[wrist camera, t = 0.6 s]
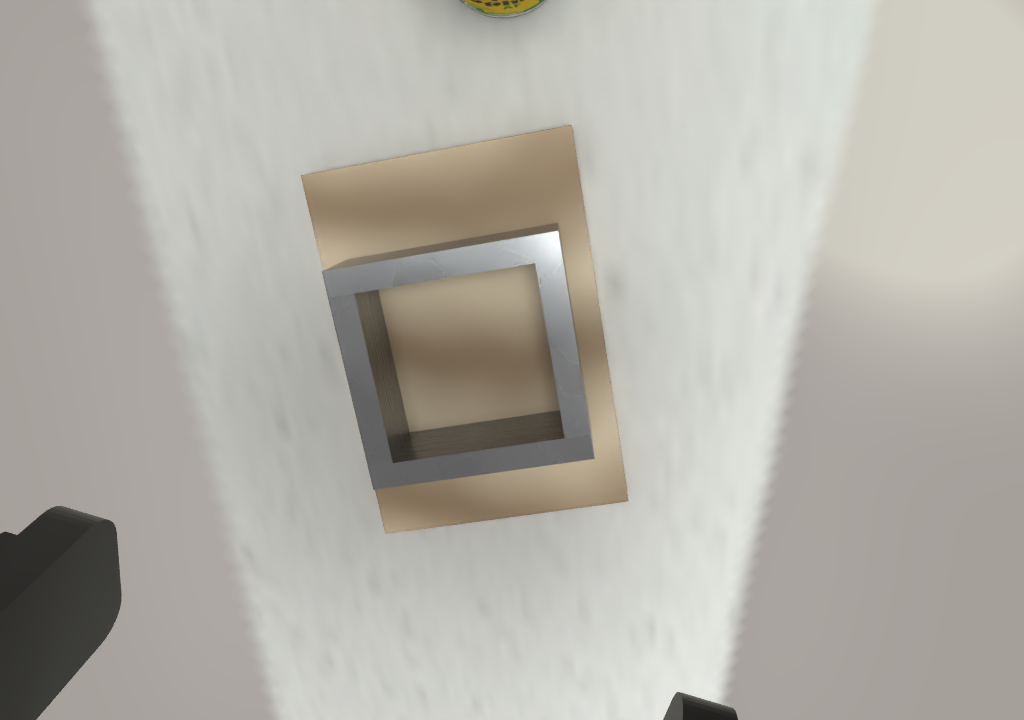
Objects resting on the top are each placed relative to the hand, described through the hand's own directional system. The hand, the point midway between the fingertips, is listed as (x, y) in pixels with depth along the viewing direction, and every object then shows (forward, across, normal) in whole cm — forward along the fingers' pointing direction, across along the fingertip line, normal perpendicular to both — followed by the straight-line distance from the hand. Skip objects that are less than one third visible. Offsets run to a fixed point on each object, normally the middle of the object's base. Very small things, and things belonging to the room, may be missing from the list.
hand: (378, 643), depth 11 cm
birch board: (+22, +3, +7) cm, 23 cm away
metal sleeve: (+21, +3, +6) cm, 22 cm away
